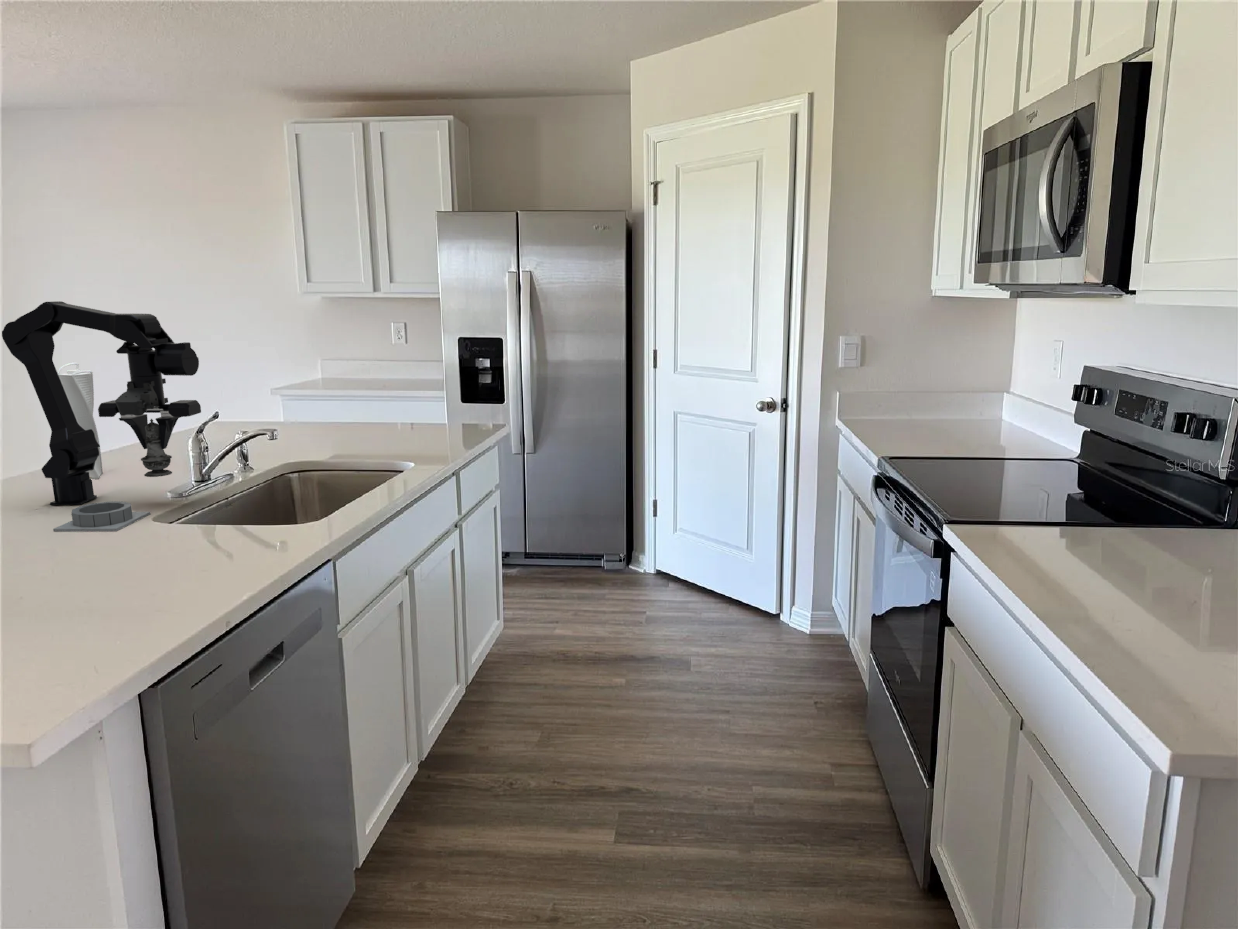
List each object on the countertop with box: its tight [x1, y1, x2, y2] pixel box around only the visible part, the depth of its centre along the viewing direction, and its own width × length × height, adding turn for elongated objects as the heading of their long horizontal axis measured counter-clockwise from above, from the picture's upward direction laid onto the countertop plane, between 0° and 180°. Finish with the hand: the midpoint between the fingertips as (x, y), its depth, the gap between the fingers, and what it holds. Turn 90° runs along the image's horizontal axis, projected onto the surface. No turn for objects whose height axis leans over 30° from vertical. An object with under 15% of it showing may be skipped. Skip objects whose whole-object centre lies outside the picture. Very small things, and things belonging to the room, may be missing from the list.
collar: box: [52, 500, 151, 532], centre depth 164 cm, size 12×12×3 cm
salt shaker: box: [140, 418, 173, 478], centre depth 175 cm, size 6×6×12 cm
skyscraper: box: [57, 362, 103, 480], centre depth 200 cm, size 8×8×28 cm
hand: (155, 448), depth 175 cm, fingers closed on salt shaker, 3 cm apart
